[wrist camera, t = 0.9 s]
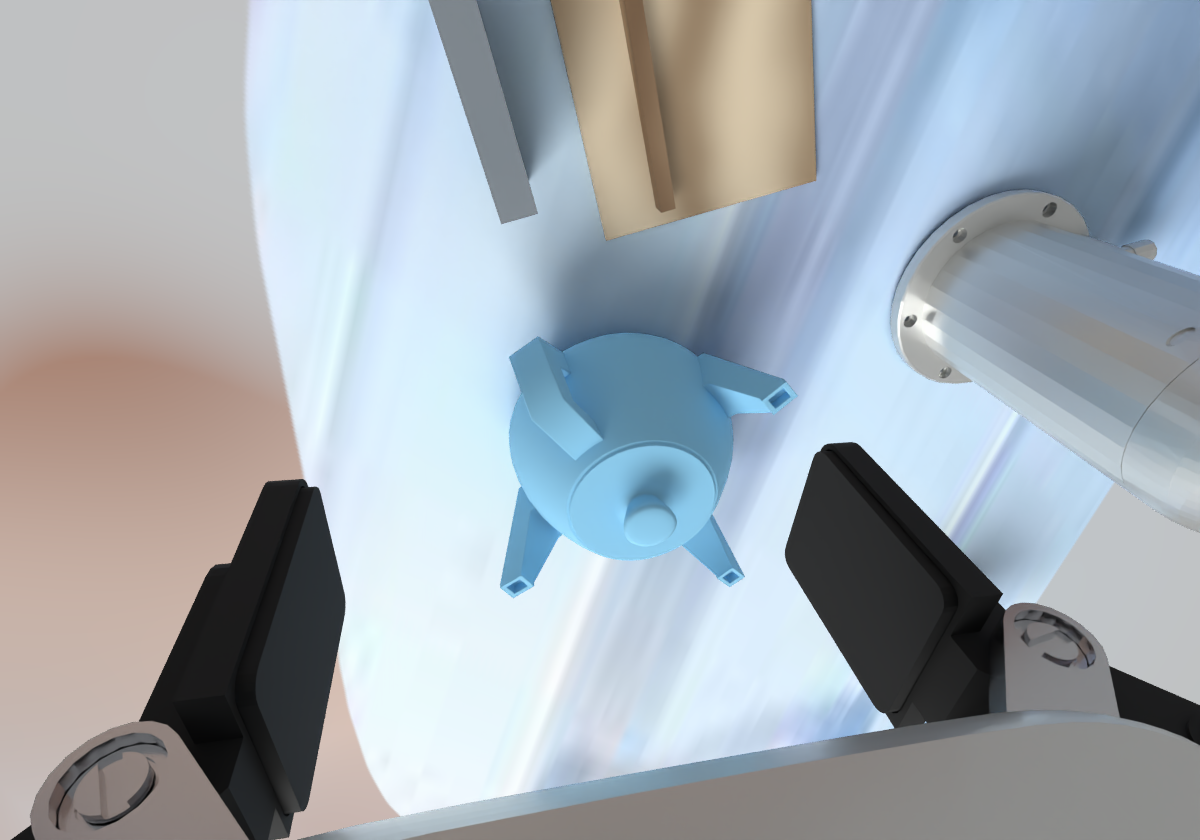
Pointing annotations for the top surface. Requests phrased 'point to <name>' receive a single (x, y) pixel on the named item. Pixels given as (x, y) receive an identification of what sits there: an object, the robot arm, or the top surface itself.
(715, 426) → the teapot
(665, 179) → the wooden ridged plate
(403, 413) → the top surface
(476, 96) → the tile
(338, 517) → the top surface
